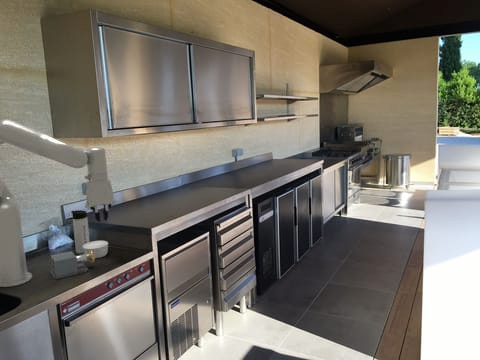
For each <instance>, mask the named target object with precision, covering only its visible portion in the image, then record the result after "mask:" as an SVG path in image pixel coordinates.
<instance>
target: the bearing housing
mask: <svg viewBox="0 0 480 360" xmlns="http://www.w3.org/2000/svg"><path fill="white" fill-rule="evenodd" d="M76 256H77V255H75V254H74V252H73V251H72V250H71V251H67V252H66V251H65V252H60V253H56V254H51V255H50V259H51V267H52V269H50V270H49V272H50V273H49V274H50V275H51V277H52V279H53V280H57V279H62V278H66V277H70V276H71V277H72V276H74V275H79V273H80V274H83V272H84V273H88V272H89V269H88V267H87V266H86V265H85V264H84V262H81V263H77V258H76ZM87 271H88V272H87Z"/></svg>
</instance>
